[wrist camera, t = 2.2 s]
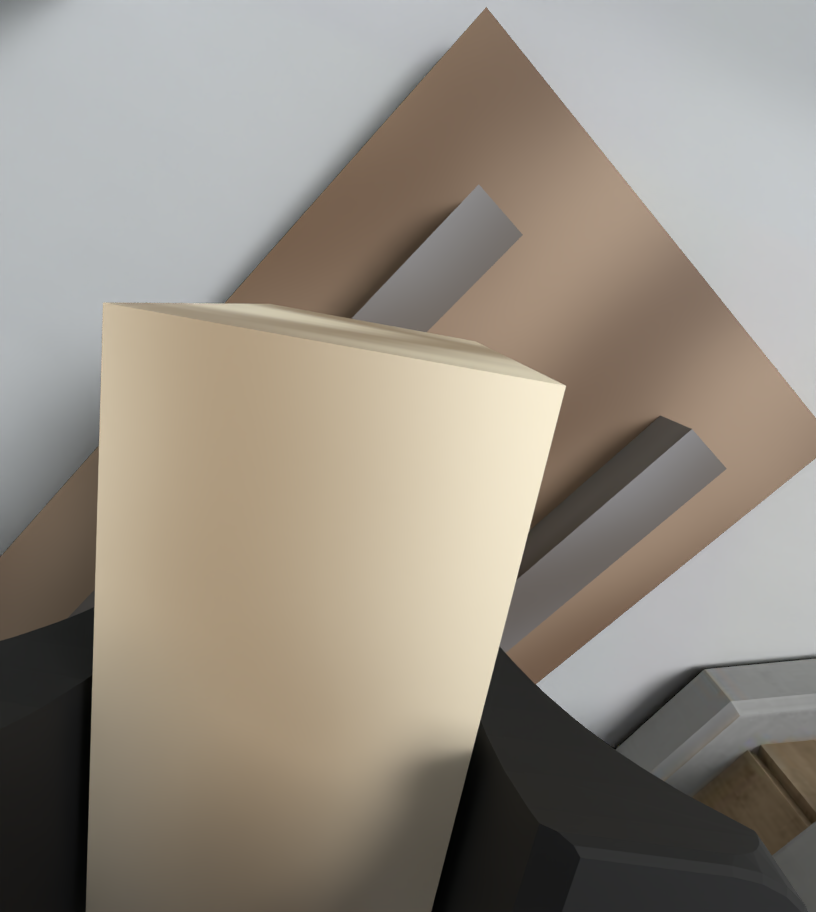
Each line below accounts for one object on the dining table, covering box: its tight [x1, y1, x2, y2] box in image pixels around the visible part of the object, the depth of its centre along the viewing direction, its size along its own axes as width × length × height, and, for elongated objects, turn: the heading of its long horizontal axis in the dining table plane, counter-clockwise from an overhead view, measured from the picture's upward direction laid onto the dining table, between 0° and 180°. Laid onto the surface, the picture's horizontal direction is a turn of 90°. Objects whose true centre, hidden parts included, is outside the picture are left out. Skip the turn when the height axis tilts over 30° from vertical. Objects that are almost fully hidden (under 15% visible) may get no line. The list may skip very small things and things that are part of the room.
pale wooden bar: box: [86, 303, 566, 912], centre depth 9 cm, size 4×12×6 cm, turn 170°
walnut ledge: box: [0, 7, 816, 684], centre depth 13 cm, size 12×21×3 cm, turn 135°
